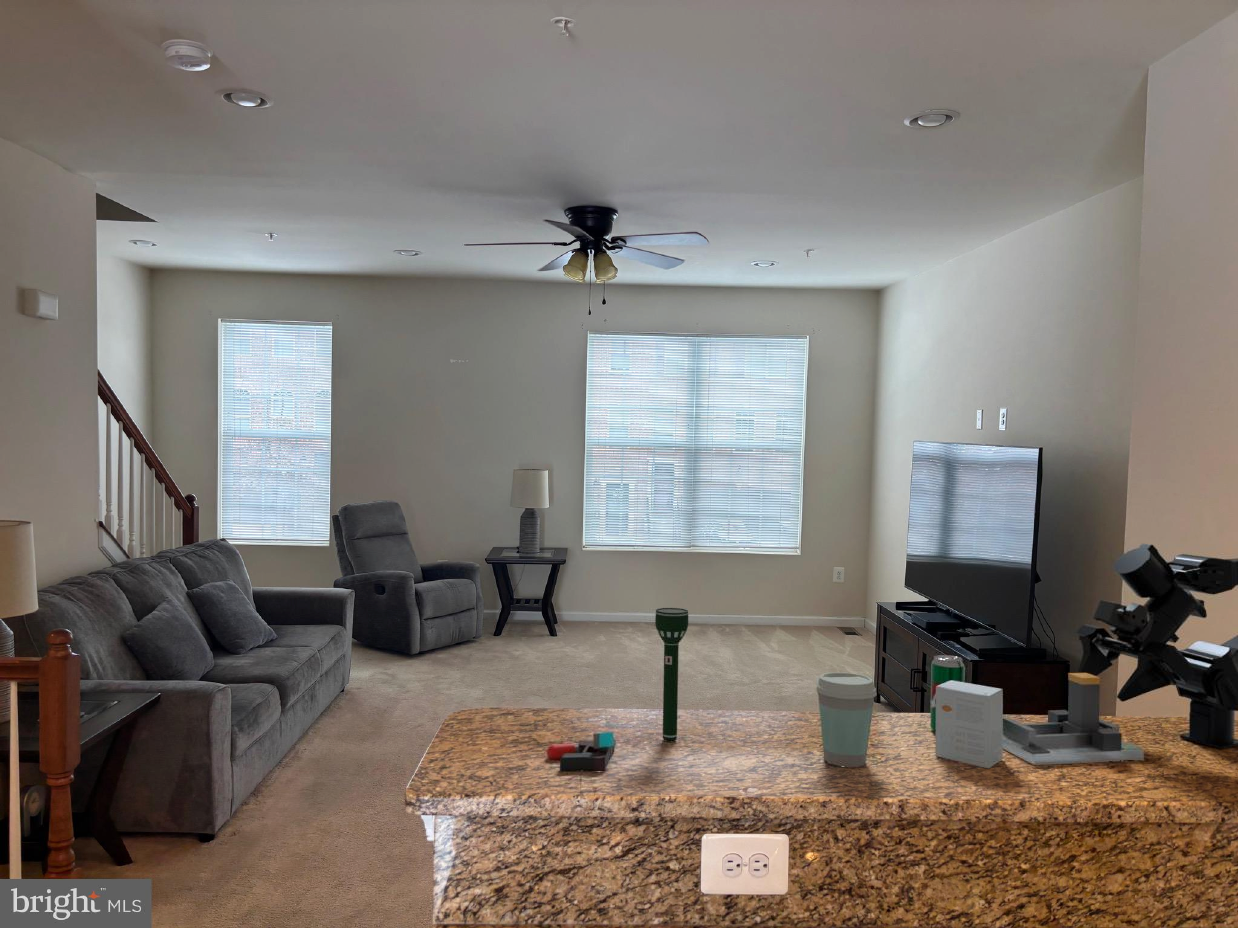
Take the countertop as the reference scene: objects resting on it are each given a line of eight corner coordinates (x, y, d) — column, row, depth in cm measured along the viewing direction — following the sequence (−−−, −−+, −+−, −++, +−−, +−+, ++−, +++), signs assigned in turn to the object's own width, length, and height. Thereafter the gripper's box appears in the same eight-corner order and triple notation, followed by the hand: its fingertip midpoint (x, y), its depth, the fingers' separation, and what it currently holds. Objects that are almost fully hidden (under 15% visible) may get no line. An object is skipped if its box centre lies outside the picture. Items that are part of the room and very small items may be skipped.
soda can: (966, 737, 139) (967, 662, 139) (932, 735, 140) (934, 660, 140) (960, 728, 144) (961, 655, 144) (928, 725, 145) (929, 653, 145)
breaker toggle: (1085, 731, 137) (1086, 671, 137) (1104, 739, 133) (1105, 678, 133) (1062, 732, 137) (1063, 672, 137) (1080, 740, 133) (1081, 678, 133)
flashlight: (648, 742, 133) (650, 611, 133) (659, 733, 138) (662, 606, 138) (680, 747, 131) (682, 614, 131) (690, 737, 136) (692, 609, 136)
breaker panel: (1082, 733, 142) (1083, 708, 142) (1144, 759, 129) (1144, 732, 129) (980, 737, 139) (981, 712, 139) (1033, 765, 126) (1034, 737, 126)
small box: (1003, 760, 128) (1004, 688, 128) (989, 769, 124) (990, 695, 124) (949, 747, 134) (950, 678, 134) (934, 756, 129) (935, 685, 129)
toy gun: (620, 749, 131) (620, 717, 131) (607, 777, 119) (608, 741, 119) (556, 745, 132) (557, 713, 132) (538, 772, 120) (538, 737, 120)
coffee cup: (879, 756, 129) (880, 675, 129) (870, 775, 121) (871, 688, 121) (821, 748, 132) (822, 668, 132) (808, 765, 124) (810, 680, 125)
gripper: (1085, 575, 145) (1025, 643, 143) (1176, 591, 127) (1108, 670, 125) (1127, 621, 147) (1068, 689, 145) (1222, 643, 129) (1156, 722, 127)
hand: (1097, 691), depth 135 cm, fingers open, 9 cm apart
